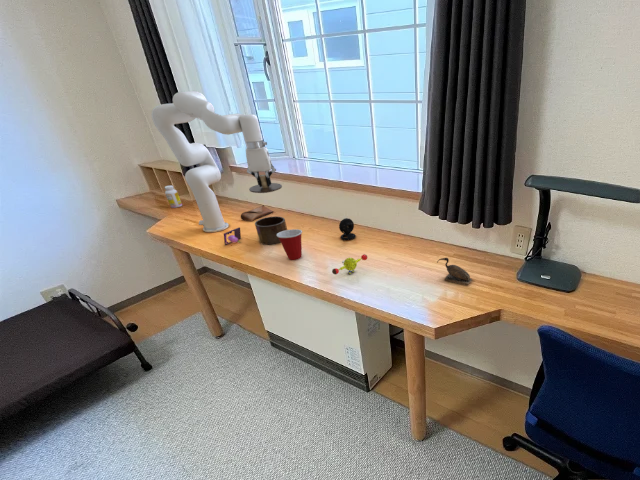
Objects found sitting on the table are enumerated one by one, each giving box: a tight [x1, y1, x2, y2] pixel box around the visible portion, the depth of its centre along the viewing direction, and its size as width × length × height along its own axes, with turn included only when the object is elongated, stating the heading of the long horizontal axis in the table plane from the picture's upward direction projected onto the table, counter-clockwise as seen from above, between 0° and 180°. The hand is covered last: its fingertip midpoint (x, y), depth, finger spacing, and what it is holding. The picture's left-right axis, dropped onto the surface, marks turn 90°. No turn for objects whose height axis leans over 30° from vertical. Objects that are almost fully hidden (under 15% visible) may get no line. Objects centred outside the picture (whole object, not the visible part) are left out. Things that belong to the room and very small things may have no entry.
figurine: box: [437, 257, 473, 286], centre depth 139 cm, size 14×4×9 cm, turn 63°
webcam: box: [338, 217, 357, 241], centre depth 177 cm, size 8×8×10 cm
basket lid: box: [248, 174, 283, 194], centre depth 172 cm, size 15×15×7 cm
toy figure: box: [331, 253, 368, 275], centre depth 146 cm, size 18×6×7 cm, turn 141°
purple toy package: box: [223, 227, 242, 246], centre depth 177 cm, size 7×5×9 cm
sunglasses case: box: [240, 204, 275, 222], centre depth 210 cm, size 18×7×7 cm
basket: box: [254, 215, 288, 246], centre depth 178 cm, size 14×14×10 cm
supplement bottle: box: [164, 184, 183, 209], centre depth 228 cm, size 7×7×13 cm
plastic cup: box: [276, 228, 303, 261], centre depth 159 cm, size 11×11×12 cm
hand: (265, 185), depth 173 cm, fingers closed on basket lid, 3 cm apart
